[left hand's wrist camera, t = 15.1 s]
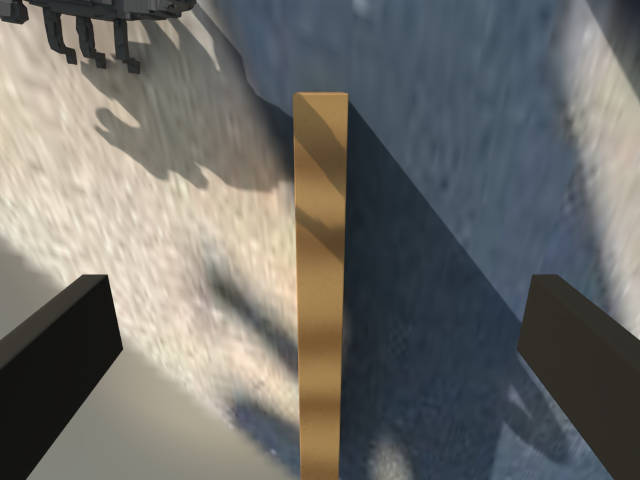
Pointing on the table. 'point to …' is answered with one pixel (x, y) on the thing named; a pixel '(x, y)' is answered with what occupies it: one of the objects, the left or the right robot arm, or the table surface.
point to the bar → (320, 273)
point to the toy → (96, 3)
